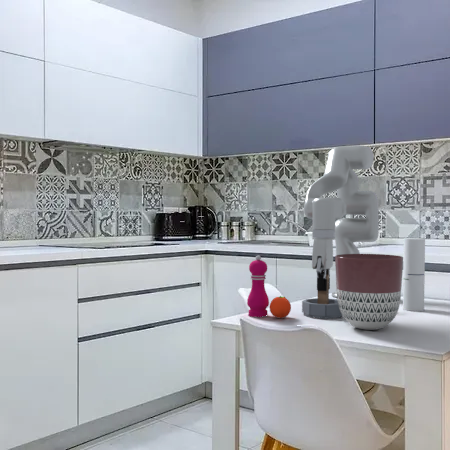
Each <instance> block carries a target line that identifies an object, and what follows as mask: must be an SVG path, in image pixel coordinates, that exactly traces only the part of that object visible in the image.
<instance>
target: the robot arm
mask: <svg viewBox="0 0 450 450" xmlns="http://www.w3.org/2000/svg"><path fill="white" fill-rule="evenodd" d="M374 157H375V156H374V152H373V150H372V148H371V147H369V146H364V145H346V146H344V145H343V146H336V147H335V146H334V147H333V148H332V149H330V150H329V151H328V153H327V161H326V165H325V168H324V173H323V175H322V176H320V177H319V178H317V179H316V181H314V182H313V183H312V184H311V185H310V186H309V188H308V190H307V192H306V196H305V199H304V204H303V214H304V215H305V217H306V218H307V219H308V220H309V219H310V220H312V229H311V230H312V232H311V233H312V234H311V236H312V240H313V242H312V243H313V244H312V253H311V254H312V255H311V259H312V260H311V268H312V269H313V270H315V272H316V290H317V292H318V291H327V279H326V275H329V290H330V288H331V287H330V286H331V284H330V281H331V278H330V277H331V273H330V272H331V268H332V267H333V266H334V244H333V243H334V242H333V240H334V241H335V256H336V255H341V254H361V253H360V249H359V248H358V247H357V246H356V245H355V243H373V242H376V241H377V240H378V237H379V231H380V230H379V228H380V227H379V226H380V225H379V220H380V219H379V218H380V217H379V215H380V213H379V199H378V195H377V193H376V192H374V191H372V190H360V187H359V186H360V179H359V176H358V174H357V173H356V172H355V170H369V169H371V167H372V166H373V164H374ZM335 191H336V192H337V194H336V197H322V196H324V195H326V194H330V193H332V192H335ZM345 215H348V216H349V215H350V216H351V215H352V216H353V215H355V216H356V215H357V216H365V218H363V217H362V218H361V217H344V216H345ZM331 296H332V297H333V298H337V287H336V286H335V291H333V292H331Z"/></svg>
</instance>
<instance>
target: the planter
mask: <svg viewBox="0 0 450 450" xmlns="http://www.w3.org/2000/svg"><path fill="white" fill-rule="evenodd" d="M334 259H335V260H334V261H335V262H334V264H335V288H336V287H337V297H336V299H337V301H338V306H339V309H340V312H341V314H342V317H343V319H345V321H346V322H347V323H349V325H351V326H353V327H354V328H357V329H359V330H366V331H375V330H381V329H383V328H386V326H388V325H390V324H391V323H392V321H394V319H395V318H396V317H397V314H398V312H399V309H400V305H401V297H402V288H403V284H402V283H403V259H404V256H401V255H395V254H394V255H393V254H382V253H360V254H341V255H336V254H335V256H334Z"/></svg>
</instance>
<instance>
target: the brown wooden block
mask: <svg viewBox="0 0 450 450" xmlns="http://www.w3.org/2000/svg"><path fill="white" fill-rule="evenodd" d="M329 278H330V277H329V275H326V279H327V291H318V290H317V298H318V300H317V304H329V299H330V298H329V297H330V295H329V294H330V291H329V290H330V289H329Z"/></svg>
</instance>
